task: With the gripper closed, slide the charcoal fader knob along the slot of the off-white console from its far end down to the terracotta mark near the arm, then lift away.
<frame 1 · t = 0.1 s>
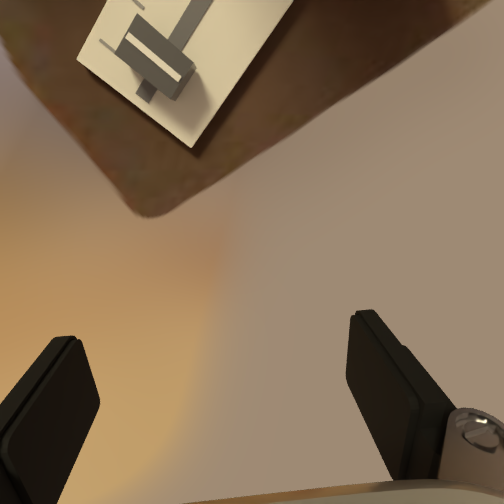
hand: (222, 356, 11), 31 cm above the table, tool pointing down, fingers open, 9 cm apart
fader knob: (157, 61, 31), point 4 cm above the table, slide at 8.0 cm
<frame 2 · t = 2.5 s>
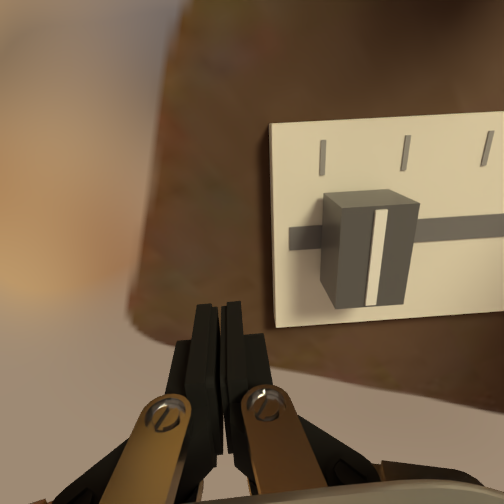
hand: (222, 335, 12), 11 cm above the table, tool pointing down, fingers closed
fader knob: (363, 248, 18), point 4 cm above the table, slide at 8.0 cm
fader console: (453, 220, 22), on the table
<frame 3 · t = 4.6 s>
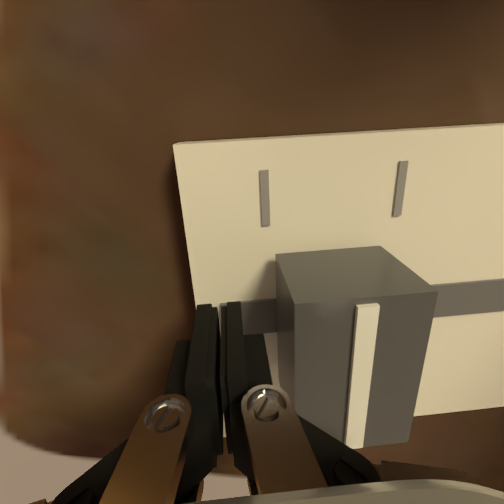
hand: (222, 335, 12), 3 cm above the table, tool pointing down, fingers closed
fader knob: (340, 346, 11), point 4 cm above the table, slide at 7.7 cm, touching gripper
fader console: (470, 279, 15), on the table
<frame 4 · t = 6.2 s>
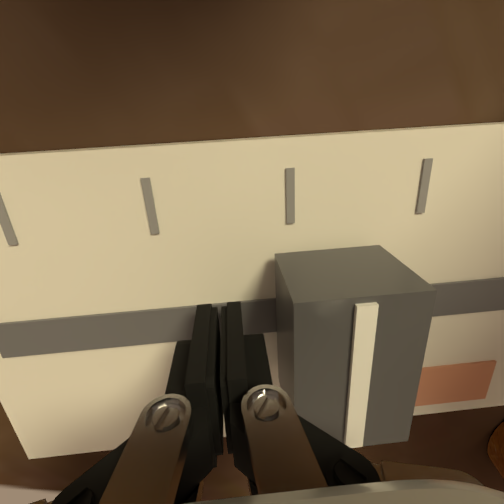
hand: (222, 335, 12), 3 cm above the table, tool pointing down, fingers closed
fader knob: (339, 345, 11), point 4 cm above the table, slide at -1.3 cm, touching gripper
fader console: (284, 294, 15), on the table
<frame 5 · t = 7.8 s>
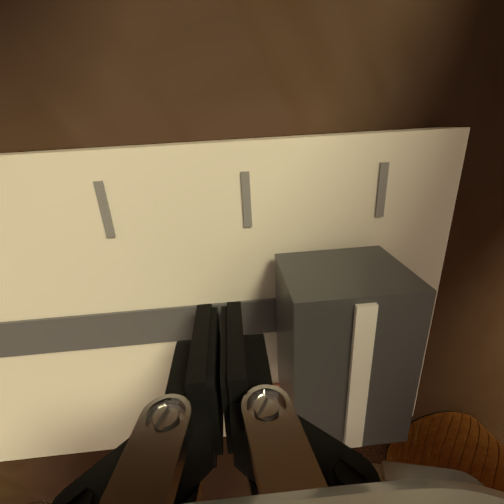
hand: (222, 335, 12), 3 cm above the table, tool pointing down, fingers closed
fader knob: (339, 345, 11), point 4 cm above the table, slide at -7.9 cm, touching gripper
disposable coffee cup: (432, 444, 20), on the table
fader console: (142, 307, 14), on the table
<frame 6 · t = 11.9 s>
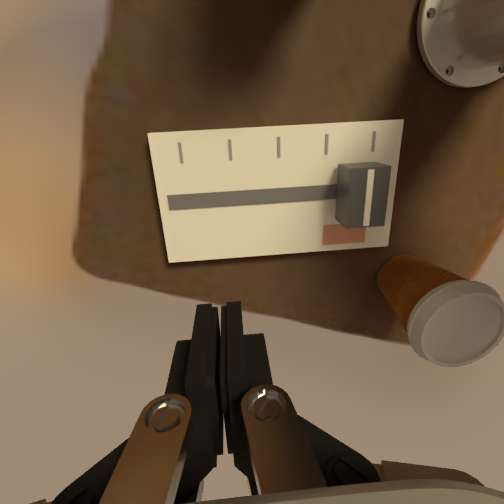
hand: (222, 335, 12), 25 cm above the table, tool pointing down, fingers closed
fader knob: (361, 194, 32), point 4 cm above the table, slide at -8.2 cm
disposable coffee cup: (399, 274, 41), on the table
fader console: (277, 192, 36), on the table
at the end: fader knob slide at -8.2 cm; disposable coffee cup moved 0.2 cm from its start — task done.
